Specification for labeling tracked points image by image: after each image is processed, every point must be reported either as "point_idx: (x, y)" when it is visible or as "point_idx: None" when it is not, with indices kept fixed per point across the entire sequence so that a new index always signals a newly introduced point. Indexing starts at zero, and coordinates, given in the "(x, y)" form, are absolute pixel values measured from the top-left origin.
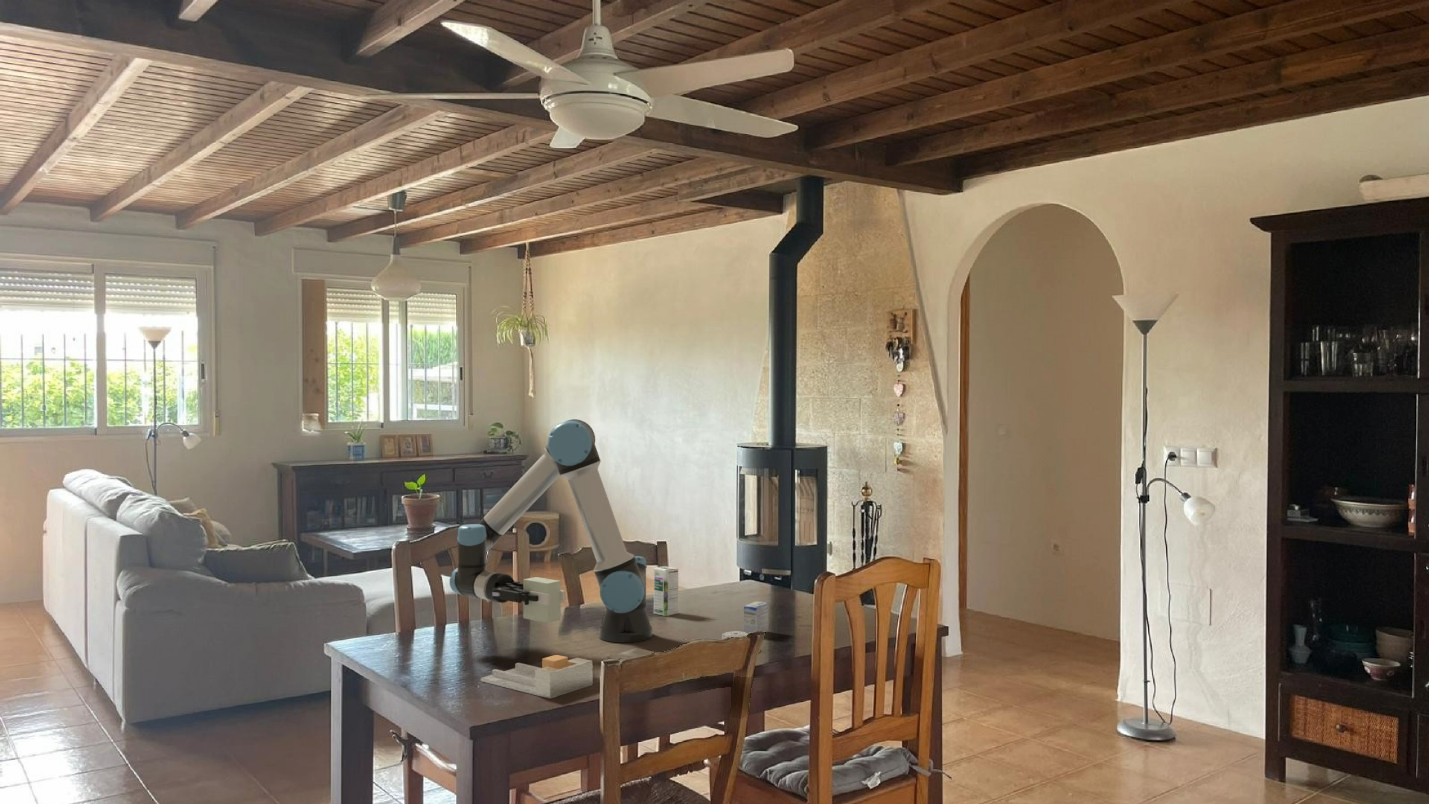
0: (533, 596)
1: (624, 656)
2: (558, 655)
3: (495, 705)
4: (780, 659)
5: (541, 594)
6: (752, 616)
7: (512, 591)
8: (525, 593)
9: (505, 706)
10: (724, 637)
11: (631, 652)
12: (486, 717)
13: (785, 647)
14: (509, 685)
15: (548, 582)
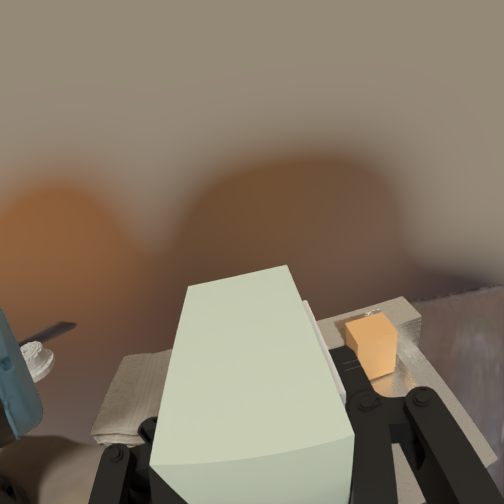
0: (354, 352)
1: None
2: (356, 338)
3: (482, 331)
4: (71, 323)
5: (317, 328)
6: None
7: (456, 455)
8: (378, 399)
9: (468, 324)
10: (36, 356)
11: (124, 420)
12: (492, 299)
13: (28, 342)
14: (452, 394)
15: (263, 278)
